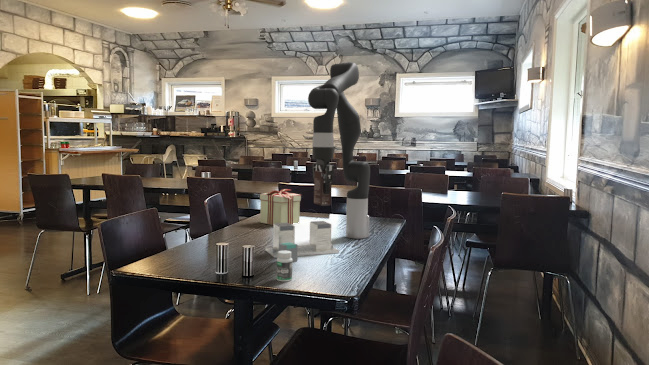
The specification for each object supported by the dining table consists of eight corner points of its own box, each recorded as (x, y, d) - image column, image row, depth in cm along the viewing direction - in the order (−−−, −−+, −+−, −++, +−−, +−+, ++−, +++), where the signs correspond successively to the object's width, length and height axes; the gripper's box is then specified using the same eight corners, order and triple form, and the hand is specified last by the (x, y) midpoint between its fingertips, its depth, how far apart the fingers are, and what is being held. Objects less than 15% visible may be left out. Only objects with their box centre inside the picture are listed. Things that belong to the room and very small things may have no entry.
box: (331, 205, 170) (332, 171, 168) (320, 205, 168) (320, 171, 166) (324, 203, 175) (324, 170, 174) (313, 203, 173) (313, 170, 172)
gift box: (287, 227, 232) (287, 192, 230) (257, 223, 242) (258, 189, 240) (307, 223, 246) (307, 189, 244) (279, 219, 256) (279, 187, 254)
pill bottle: (273, 280, 141) (273, 252, 141) (280, 276, 146) (280, 249, 145) (288, 282, 140) (288, 254, 139) (294, 278, 144) (295, 250, 144)
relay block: (290, 259, 168) (291, 242, 168) (297, 261, 165) (297, 244, 165) (278, 261, 165) (278, 243, 165) (285, 263, 162) (285, 245, 162)
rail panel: (326, 246, 190) (327, 219, 189) (339, 252, 179) (339, 224, 178) (265, 250, 181) (265, 222, 180) (274, 257, 170) (274, 228, 169)
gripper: (341, 146, 164) (340, 194, 166) (324, 145, 177) (324, 190, 179) (321, 146, 161) (320, 195, 163) (305, 145, 174) (305, 191, 176)
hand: (322, 192), depth 171 cm, fingers closed on box, 6 cm apart
